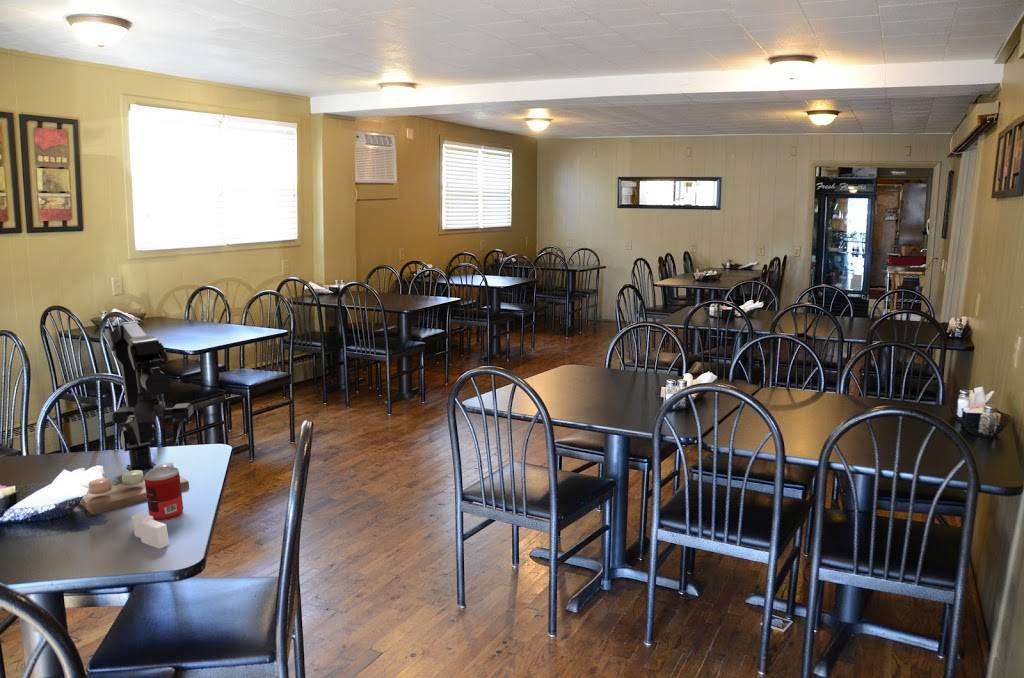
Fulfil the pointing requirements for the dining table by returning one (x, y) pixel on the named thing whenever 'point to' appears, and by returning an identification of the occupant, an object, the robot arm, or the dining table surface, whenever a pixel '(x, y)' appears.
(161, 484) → the canned food
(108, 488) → the button terracotta
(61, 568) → the dining table surface
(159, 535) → the white stepped block
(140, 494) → the panel
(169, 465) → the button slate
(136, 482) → the button sage
